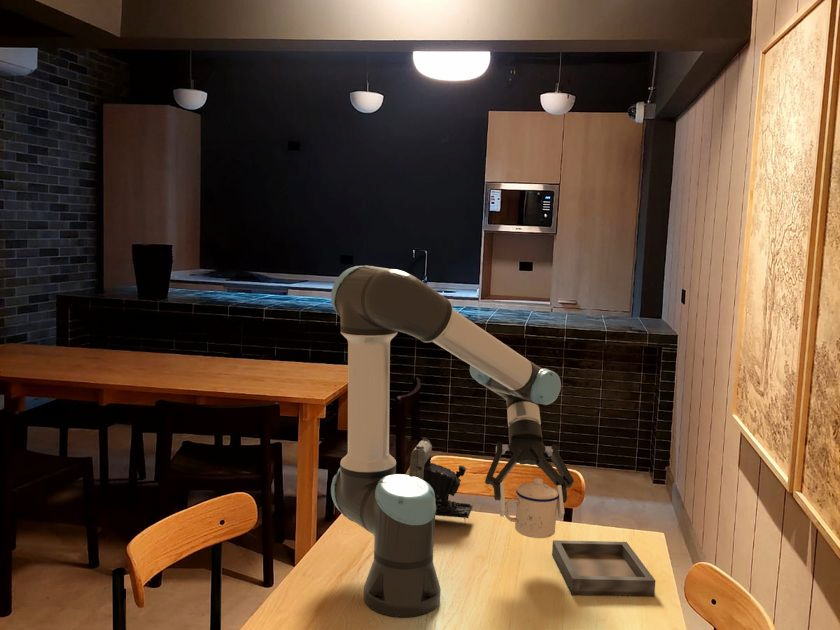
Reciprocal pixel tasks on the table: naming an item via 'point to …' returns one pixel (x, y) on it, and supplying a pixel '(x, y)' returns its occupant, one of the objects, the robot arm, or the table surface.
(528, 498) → the teacup with lid
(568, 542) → the tray
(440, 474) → the vintage camera
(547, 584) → the table surface
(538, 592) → the table surface
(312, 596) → the table surface
